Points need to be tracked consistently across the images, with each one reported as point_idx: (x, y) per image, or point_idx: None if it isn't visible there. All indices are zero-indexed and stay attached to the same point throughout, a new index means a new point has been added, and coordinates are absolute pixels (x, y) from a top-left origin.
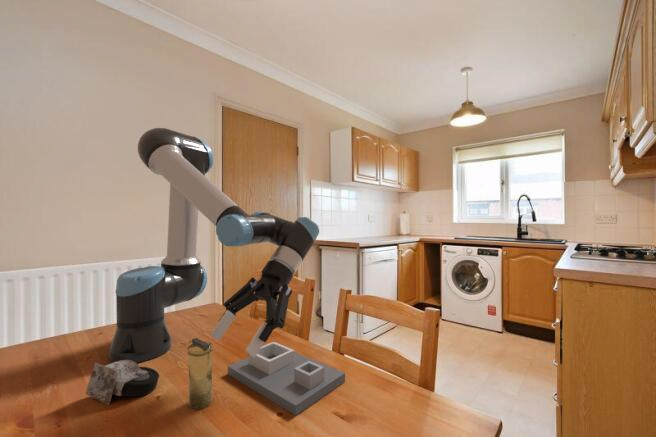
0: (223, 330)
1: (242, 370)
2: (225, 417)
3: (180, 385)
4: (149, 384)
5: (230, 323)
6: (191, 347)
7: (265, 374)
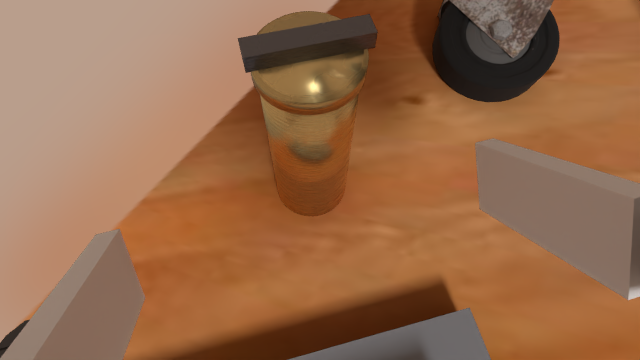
0: (517, 214)
1: (392, 353)
2: (190, 226)
3: (453, 156)
4: (446, 62)
5: (564, 257)
6: (313, 20)
7: None
